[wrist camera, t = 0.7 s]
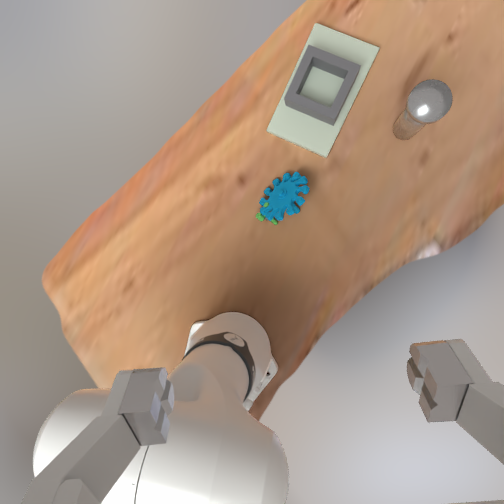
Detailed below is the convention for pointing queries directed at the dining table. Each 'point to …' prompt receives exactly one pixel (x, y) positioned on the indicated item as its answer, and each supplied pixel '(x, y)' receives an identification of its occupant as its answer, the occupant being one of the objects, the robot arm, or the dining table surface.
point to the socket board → (322, 89)
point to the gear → (283, 198)
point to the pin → (423, 108)
